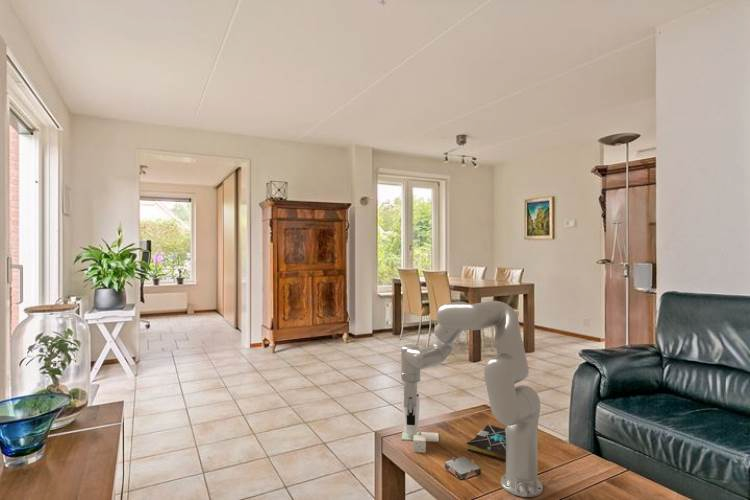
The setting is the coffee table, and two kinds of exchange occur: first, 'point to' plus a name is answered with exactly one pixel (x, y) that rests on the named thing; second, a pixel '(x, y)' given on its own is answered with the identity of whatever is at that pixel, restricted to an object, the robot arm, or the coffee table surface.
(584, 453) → the coffee table surface
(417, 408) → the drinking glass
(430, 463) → the coffee table surface
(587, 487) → the coffee table surface
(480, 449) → the book
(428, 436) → the squares
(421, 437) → the die
